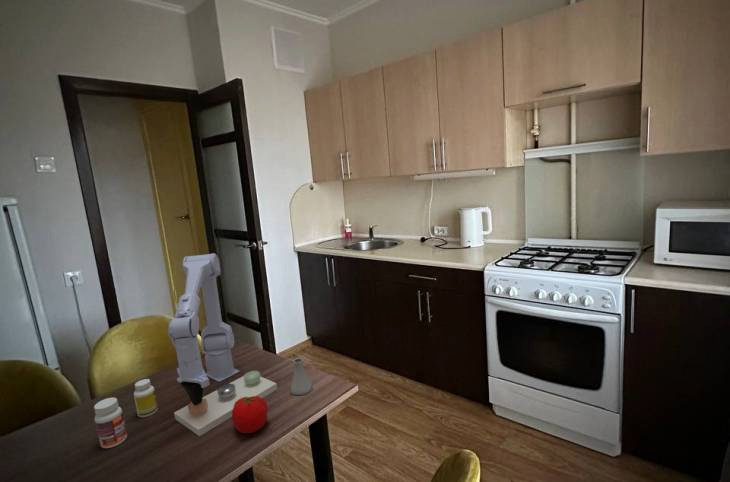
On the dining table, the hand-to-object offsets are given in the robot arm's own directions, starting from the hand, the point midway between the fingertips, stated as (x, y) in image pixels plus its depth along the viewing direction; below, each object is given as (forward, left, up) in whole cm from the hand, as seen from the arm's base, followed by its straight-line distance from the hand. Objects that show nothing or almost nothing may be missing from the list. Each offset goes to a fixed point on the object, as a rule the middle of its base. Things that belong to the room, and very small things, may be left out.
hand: (197, 403), depth 107 cm
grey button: (0, +9, -2) cm, 9 cm away
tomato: (+16, +6, -5) cm, 18 cm away
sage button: (0, +18, -2) cm, 18 cm away
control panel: (0, +9, -5) cm, 10 cm away
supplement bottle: (-18, -7, -5) cm, 20 cm away
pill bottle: (-12, -18, -5) cm, 22 cm away
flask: (+14, +26, -5) cm, 30 cm away
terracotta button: (0, 0, -2) cm, 2 cm away
